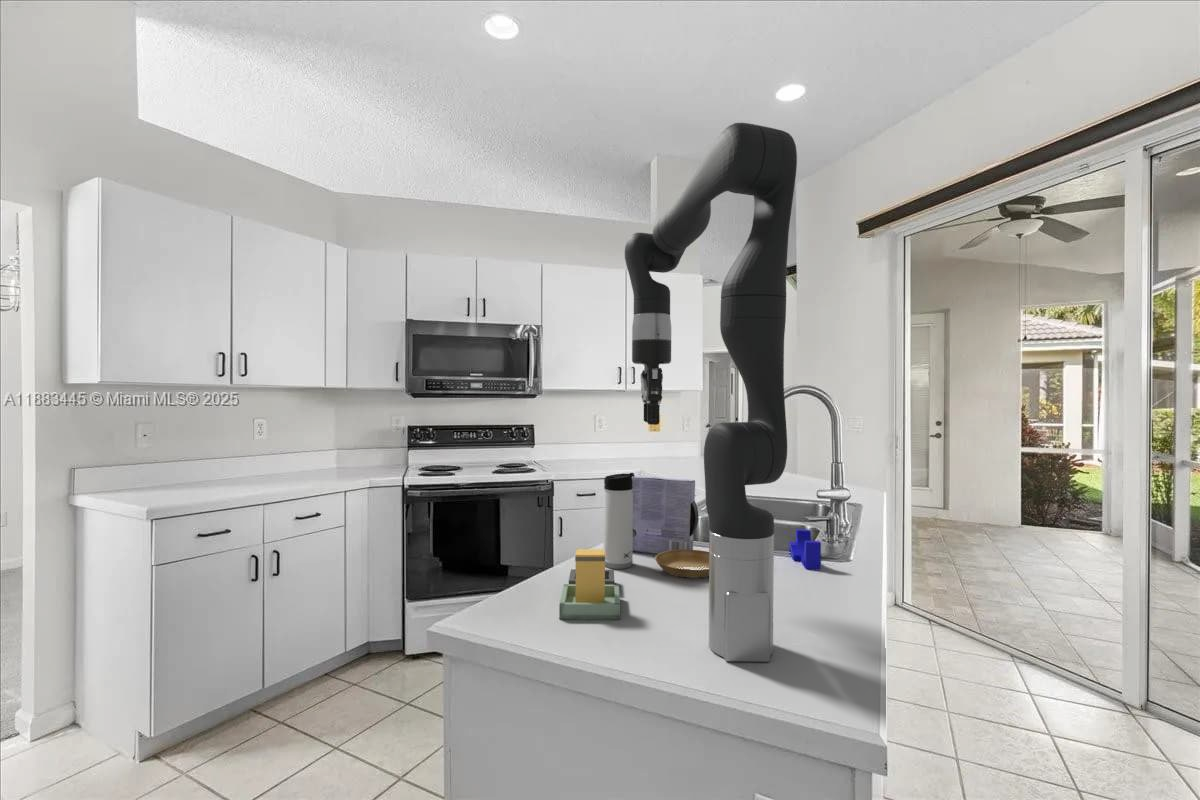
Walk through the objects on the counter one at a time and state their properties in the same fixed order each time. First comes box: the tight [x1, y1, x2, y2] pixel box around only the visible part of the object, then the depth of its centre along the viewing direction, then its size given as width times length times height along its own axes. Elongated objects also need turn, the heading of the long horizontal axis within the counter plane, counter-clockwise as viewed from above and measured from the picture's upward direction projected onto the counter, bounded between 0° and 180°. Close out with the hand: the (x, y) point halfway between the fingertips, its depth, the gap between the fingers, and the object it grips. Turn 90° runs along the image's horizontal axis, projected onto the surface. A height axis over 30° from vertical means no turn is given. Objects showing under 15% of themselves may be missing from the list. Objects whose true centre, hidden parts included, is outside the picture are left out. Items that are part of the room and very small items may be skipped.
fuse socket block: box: [568, 568, 615, 585], centre depth 112 cm, size 7×8×2 cm
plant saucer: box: [654, 549, 709, 579], centre depth 124 cm, size 15×15×3 cm
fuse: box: [574, 548, 606, 603], centre depth 102 cm, size 4×5×9 cm
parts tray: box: [558, 583, 621, 621], centre depth 102 cm, size 10×10×2 cm
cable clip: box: [788, 528, 822, 571], centre depth 130 cm, size 12×4×6 cm, turn 171°
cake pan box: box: [632, 474, 699, 555], centre depth 138 cm, size 19×5×18 cm, turn 70°
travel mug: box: [603, 472, 635, 570], centre depth 127 cm, size 6×7×20 cm
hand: (651, 423), depth 113 cm, fingers open, 8 cm apart
